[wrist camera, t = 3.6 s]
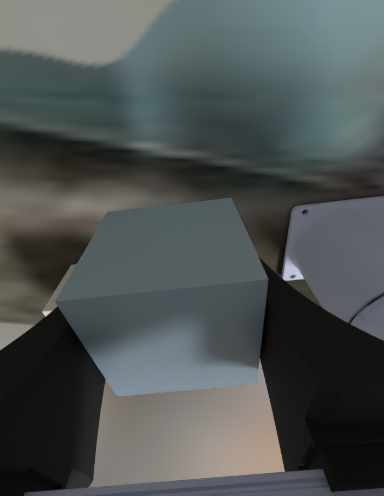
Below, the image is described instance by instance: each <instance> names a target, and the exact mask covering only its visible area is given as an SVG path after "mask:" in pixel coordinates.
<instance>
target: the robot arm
mask: <svg viewBox="0 0 384 496" xmlns="http://www.w3.org/2000/svg"><path fill="white" fill-rule="evenodd" d="M305 209H306V212H304V213H302V212H303V210H305ZM259 259H260V258H259ZM260 262H261V264H262V266H263V268H264V271H265V273H266V275H267V277H268V287H267V296H266V305H265V314H264V323H263V332H262V341H261V350H260V360H261V365H262V369H263V373H264V377H265V381H266V385H267V390H268V394H269V398H270V403H271V407H272V412H273V416H274V421H275V425H276V430H277V435H278V440H279V444H280V449H281V454H282V459H283V464H284V469H285V472H278V473H265V474H253V475H241V476H229V477H228V476H227V477H215V478H202V479H190V480H177V481H166V482H152V483H140V484H127V485H114V486H102V487H89V486H90V484H91V483H92V481H93V475H94V464H95V453H96V443H97V434H98V426H99V419H100V410H101V404H102V398H103V391H104V385H105V377H104V376H103V374H102V373H101V371H100V370H99V368H98V367H97V365H96V364H95V362H94V361H93V359H92V358H91V356H90V355H89V353H88V351H87V350H86V348H85V347H84V345H83V344H82V342H81V341H80V339H79V338H78V336H77V335H76V333H75V332H74V330H73V329H72V327H71V326H70V324H69V323H68V321H67V319H66V318H65V316H64V315H63V313H62V312H61V310H60V309H59V307H58V306H57V307H56V308H55V309H54V310H53V311H52V312H50V313H49V314H48V315H47V316H46V317H45V318H43V319H42V320H41V321H40V322H38V323H37V324H36V325H35V326H33V327H32V328H31V329H30V330H28V331H27V332H26V333H24V334H23V335H21V336H20V337H19V338H17V339H16V340H14V341H13V342H11V343H10V344H9V345H7V346H6V347H4V348H3V349H2V350H0V496H384V196H377V197H368V198H360V199H351V200H342V201H333V202H324V203H316V204H307V205H298V206H295V207H294V208H293V209H292V211H291V216H290V223H289V229H288V236H287V243H286V249H285V256H284V262H283V269H282V278H283V279H282V278H281V277H280V276H278V275H277V274H276V273H275V272H274V271H273V270H272V269H271V268H270V267H269V266H267V265H266V264H265V263H264V262H263V261H262V260H261V259H260ZM291 275H292V276H291ZM297 279H305V281H306V282H307V284H308V285H309V287H310V289H311V290H312V292H313V293H314V295H315V296H316V298H317V299H318V301H319V303H320V304H321V306H322V307H323V308H321V307H320V306H318V305H317V304H315V303H314V302H312V301H311V300H309V299H308V298H306V297H305V296H303V295H302V294H301V293H299V292H298V291H297V290H295V289H294V288H293V287H292V286H290V285H289V284H288V283H287V282H285V281H284V280H297ZM88 487H89V488H88Z"/></svg>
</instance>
